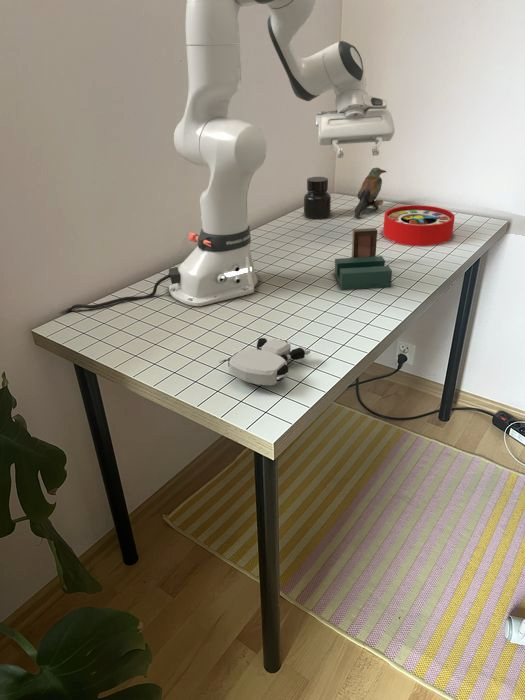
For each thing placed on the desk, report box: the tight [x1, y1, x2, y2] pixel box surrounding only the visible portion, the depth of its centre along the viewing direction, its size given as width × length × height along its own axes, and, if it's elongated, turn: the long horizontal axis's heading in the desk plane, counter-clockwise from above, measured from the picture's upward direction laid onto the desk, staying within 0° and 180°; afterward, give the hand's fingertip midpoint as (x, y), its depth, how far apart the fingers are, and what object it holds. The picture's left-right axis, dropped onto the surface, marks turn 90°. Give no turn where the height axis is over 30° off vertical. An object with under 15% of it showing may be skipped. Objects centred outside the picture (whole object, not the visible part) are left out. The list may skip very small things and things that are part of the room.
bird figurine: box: [353, 167, 387, 220], centre depth 184 cm, size 13×10×20 cm
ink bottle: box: [303, 176, 332, 220], centre depth 182 cm, size 10×9×12 cm
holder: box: [334, 255, 393, 291], centre depth 137 cm, size 10×12×4 cm
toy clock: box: [382, 204, 455, 247], centre depth 164 cm, size 20×6×20 cm
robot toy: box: [218, 337, 311, 386], centre depth 103 cm, size 12×4×15 cm
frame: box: [351, 227, 378, 258], centre depth 146 cm, size 2×6×9 cm, turn 93°
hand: (358, 155), depth 146 cm, fingers open, 8 cm apart
